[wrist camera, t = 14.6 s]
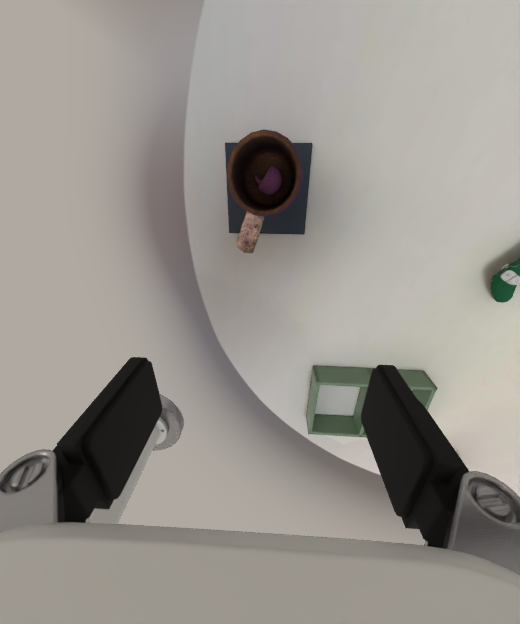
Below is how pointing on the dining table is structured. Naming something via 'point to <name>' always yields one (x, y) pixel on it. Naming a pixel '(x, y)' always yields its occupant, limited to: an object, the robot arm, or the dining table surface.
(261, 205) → the mug
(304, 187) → the mat
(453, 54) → the dining table surface
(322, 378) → the divided box
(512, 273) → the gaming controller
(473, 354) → the dining table surface
